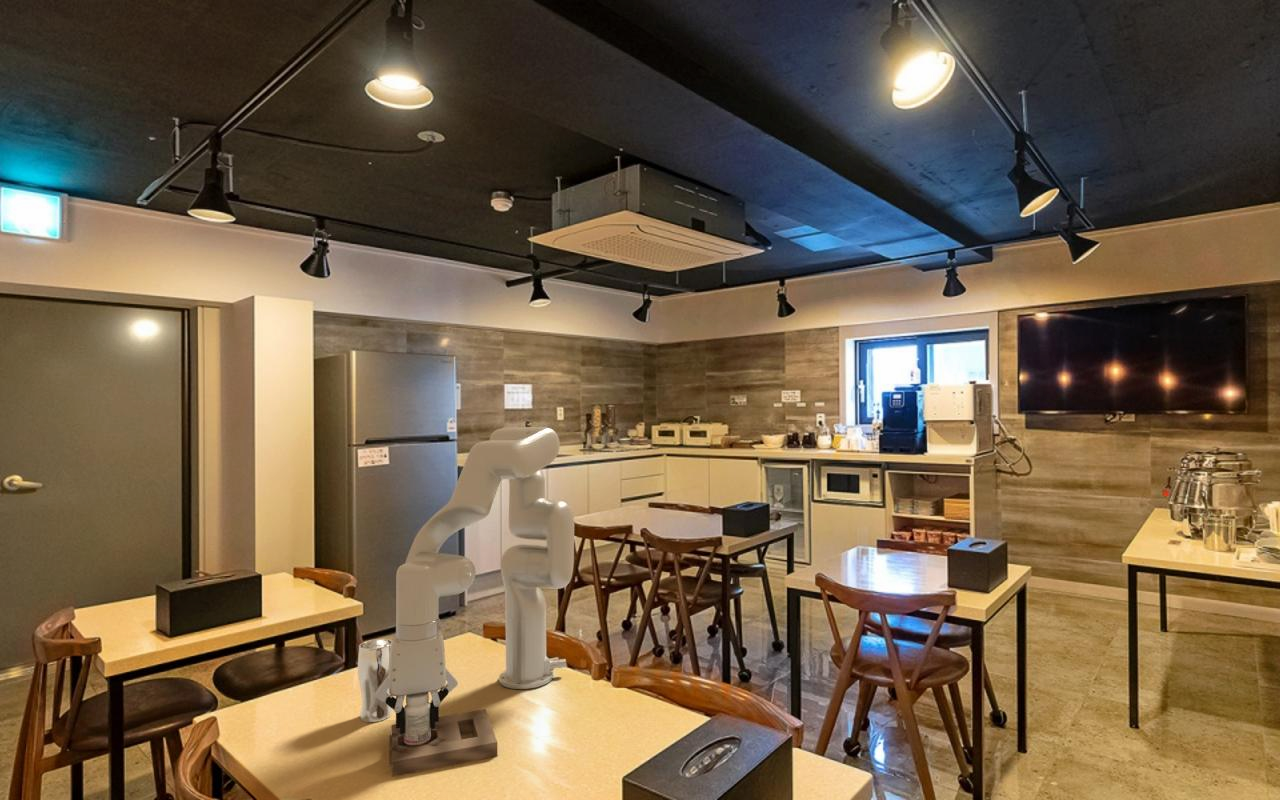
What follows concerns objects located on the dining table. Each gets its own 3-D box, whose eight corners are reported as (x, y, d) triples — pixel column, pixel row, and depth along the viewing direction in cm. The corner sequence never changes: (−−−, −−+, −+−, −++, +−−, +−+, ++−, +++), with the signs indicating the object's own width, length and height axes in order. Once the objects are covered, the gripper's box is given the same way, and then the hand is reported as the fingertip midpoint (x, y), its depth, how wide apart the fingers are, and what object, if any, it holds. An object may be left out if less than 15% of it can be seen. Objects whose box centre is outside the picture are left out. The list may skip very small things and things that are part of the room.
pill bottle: (407, 734, 123) (407, 689, 124) (433, 733, 124) (433, 688, 124) (400, 746, 119) (400, 699, 119) (427, 745, 119) (427, 698, 119)
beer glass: (400, 711, 138) (400, 639, 139) (377, 725, 132) (377, 650, 132) (374, 707, 141) (374, 636, 141) (350, 721, 134) (350, 647, 135)
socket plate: (485, 721, 133) (485, 708, 133) (497, 755, 119) (497, 741, 119) (389, 738, 126) (389, 725, 127) (389, 777, 112) (389, 762, 113)
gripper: (462, 618, 129) (462, 712, 128) (368, 629, 122) (368, 728, 122) (466, 629, 122) (466, 729, 121) (367, 641, 115) (367, 746, 115)
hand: (417, 727), depth 121 cm, fingers closed on pill bottle, 4 cm apart
